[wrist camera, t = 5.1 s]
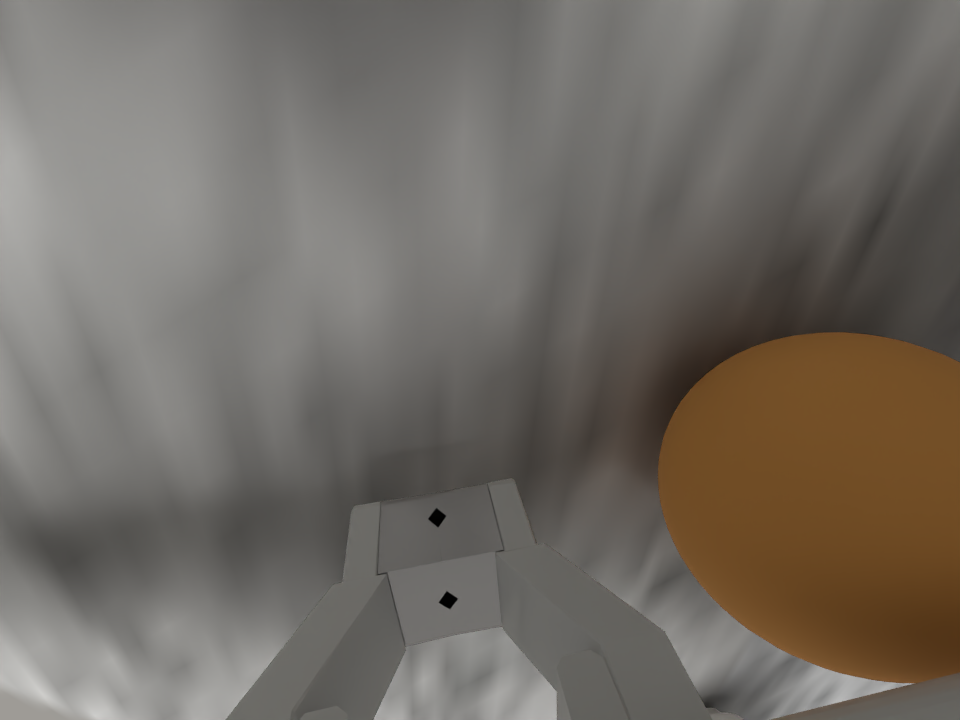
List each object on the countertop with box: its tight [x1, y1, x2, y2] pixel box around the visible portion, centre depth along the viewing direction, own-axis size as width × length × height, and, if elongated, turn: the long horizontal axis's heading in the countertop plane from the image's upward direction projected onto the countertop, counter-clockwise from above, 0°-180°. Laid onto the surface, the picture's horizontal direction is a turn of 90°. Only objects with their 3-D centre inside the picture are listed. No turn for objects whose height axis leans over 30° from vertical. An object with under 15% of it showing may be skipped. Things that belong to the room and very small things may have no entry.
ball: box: [658, 332, 960, 683], centre depth 9 cm, size 6×6×6 cm
